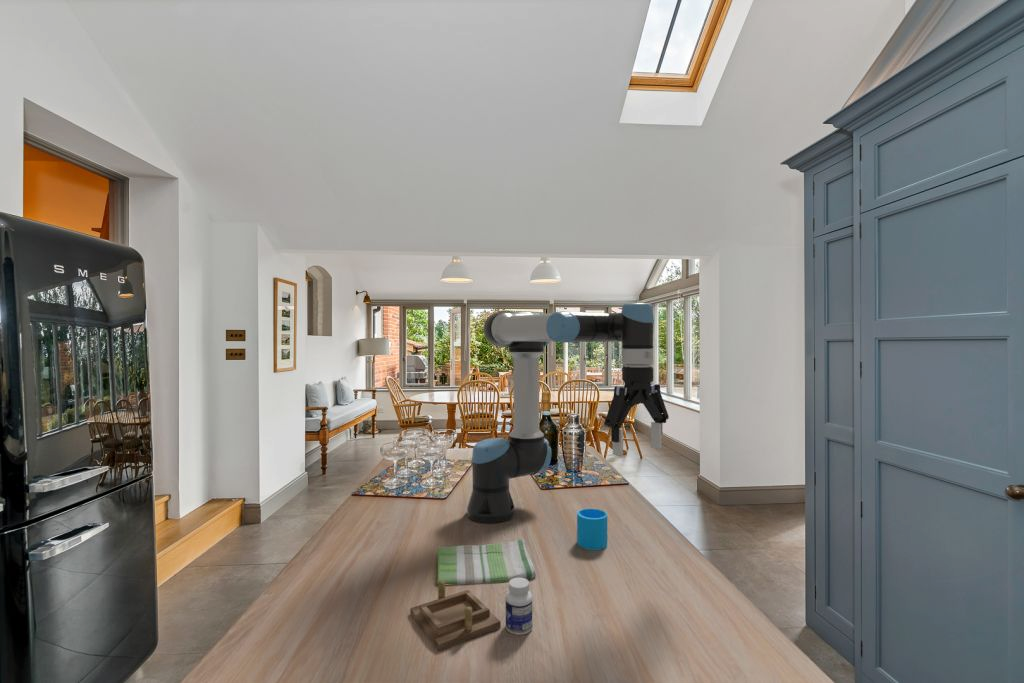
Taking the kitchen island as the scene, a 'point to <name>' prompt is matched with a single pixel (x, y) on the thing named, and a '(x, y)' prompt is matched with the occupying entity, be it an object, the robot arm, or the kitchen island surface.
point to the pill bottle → (519, 607)
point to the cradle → (454, 618)
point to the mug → (592, 529)
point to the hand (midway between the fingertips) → (637, 451)
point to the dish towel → (484, 563)
